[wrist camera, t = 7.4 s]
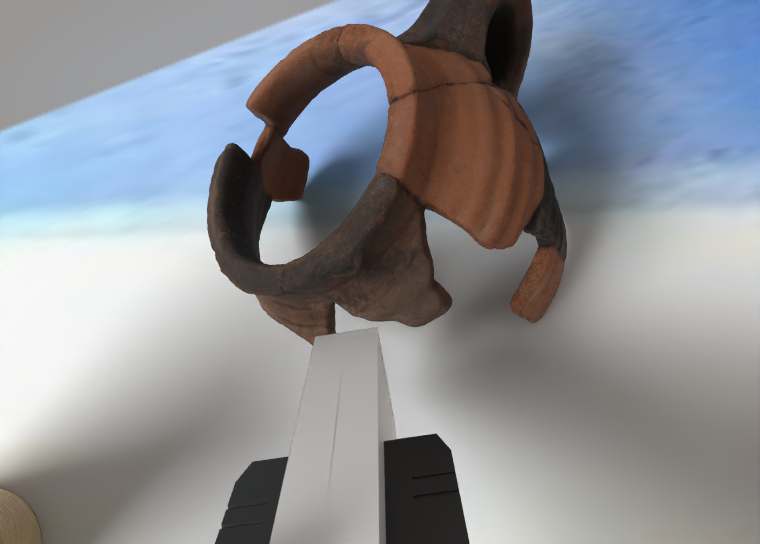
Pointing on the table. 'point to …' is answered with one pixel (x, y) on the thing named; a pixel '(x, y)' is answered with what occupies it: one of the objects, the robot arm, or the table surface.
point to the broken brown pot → (398, 171)
